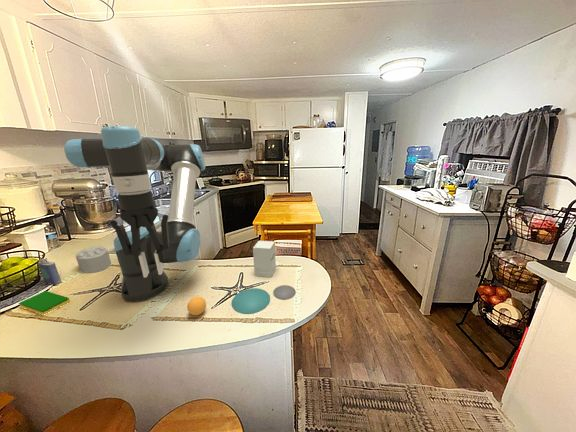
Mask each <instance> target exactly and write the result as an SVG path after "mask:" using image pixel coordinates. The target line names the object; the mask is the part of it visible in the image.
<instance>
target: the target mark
mask: <svg viewBox="0 0 576 432" xmlns="http://www.w3.org/2000/svg"><path fill="white" fill-rule="evenodd" d="M270 302H271V296H270V294H269V292H267V291H266V290H264V289H262V288H257V287H252V288H246V289H243V290H242V291H241V290H240V291H239V292H238V293H236V294H235V295H234V296H233V297H232V300H231V307H232V309H233V310H234V311H235V312H237V313H240V314H243V315H244V314H245V315H251V314H255V313H259V312H261V311H262V310H264V309H266V307H268V305H270Z"/></svg>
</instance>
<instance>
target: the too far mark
mask: <svg viewBox="0 0 576 432" xmlns="http://www.w3.org/2000/svg"><path fill="white" fill-rule="evenodd" d="M272 294H273V297H275V298H276V299H278V300H283V301H284V300H285V301H286V300H290V299H292V298H293V297H294V296H295V295H296V289H295V288H294V287H293V286H292V285H291V286H290V285H286V284H285V285H283V284H282V285H279V286H276V287H275V288H274V289H273V292H272Z"/></svg>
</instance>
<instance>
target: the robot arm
mask: <svg viewBox="0 0 576 432" xmlns="http://www.w3.org/2000/svg"><path fill="white" fill-rule="evenodd" d="M100 134H101V135H100V136H101V138H82V137H81V138H76V139H75V138H74V139H70V140H68V141H66V142H65V144H64V154H65V157H66V159H67V160H68V162H69V163H70V164H71V165H73V166H74V167H76V168H88V169H90V168H109V171H110V173H111V179H112V183H113V186H114V189H115V192H116V193H118V195H117V196H116V198H117V201H118V206H119V208H120V214H119V216H118V217H115V218H113V219H112V220H110V221H109V225H110V226H111V227H112V228H113V229H114V230H115V232H116V233H115V234H116V237H115V238H114V239H113V247H114V252H115V254H116V258H117V261H118V265H119V268H120V272H121V275H122V280H121V286H120V294H121V298H122V300H124V301H125V302H131V303H134V302H136V303H137V302H141V301H145V300H149V299H151V298H155V297H156V296H158V295H159V294H161V293H162V292H164V291H165V290H166V289H168V286H169V284H170V282H169V281H170V280H169V277H168V276H167V274H166V272H165V271H164V266H163V265H164V264H174V263H184V262H191V261H193V260H194V259H196V257H197V256H198V255H199V251H200V247H201V234H200V231H199V230H198V229H197V226H196V225H195V224H194V223H193V216H194V207H195V206H194V204H195V195H196V183H197V178H198V177H200V175H201V172H203V171H205V170H206V161H205V157H204V154H203V151H202V148H201V146H200V145H198V144H195V143H194V144H193V143H188V144H161V143H160V141H158V140H156V139H153V138H151V137H148V136H146V137H142V136H141V134H140V130H139V129H138V128H137V127H135V126H129V125H128V126H126V125H110V126H109V125H107V126H106V125H105V126H103V127H101V130H100ZM149 171H157V172H158V171H159V172H172V174H173V181H172V189H171V196H170V203H169V208H168V209H169V210H168V212H160V211H159V209H158V208H157V207H156V203H155V198H154V194H153V192H152V191H151V189H152V183H151V180H150V176H149ZM157 218H158V220H159V221H160V223H161V224H160V227H161V230H160V231H157V229H156V225H155V223H154V222H155V220H156V219H157ZM124 222H125V223H126V224H127V225H128V226H130V230H128V231H126V228H125V225H124Z"/></svg>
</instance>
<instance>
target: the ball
mask: <svg viewBox="0 0 576 432" xmlns="http://www.w3.org/2000/svg"><path fill="white" fill-rule="evenodd" d="M206 308H207V301H206V300H205V298H203V297H202V296H194V297H192V298H191V299H190V300H189V301H188V302H187V307H186V309H187V311H188V313H189V314H190V315H193V316H199V315H201V314H202V313H204V311H205V310H206Z"/></svg>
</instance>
